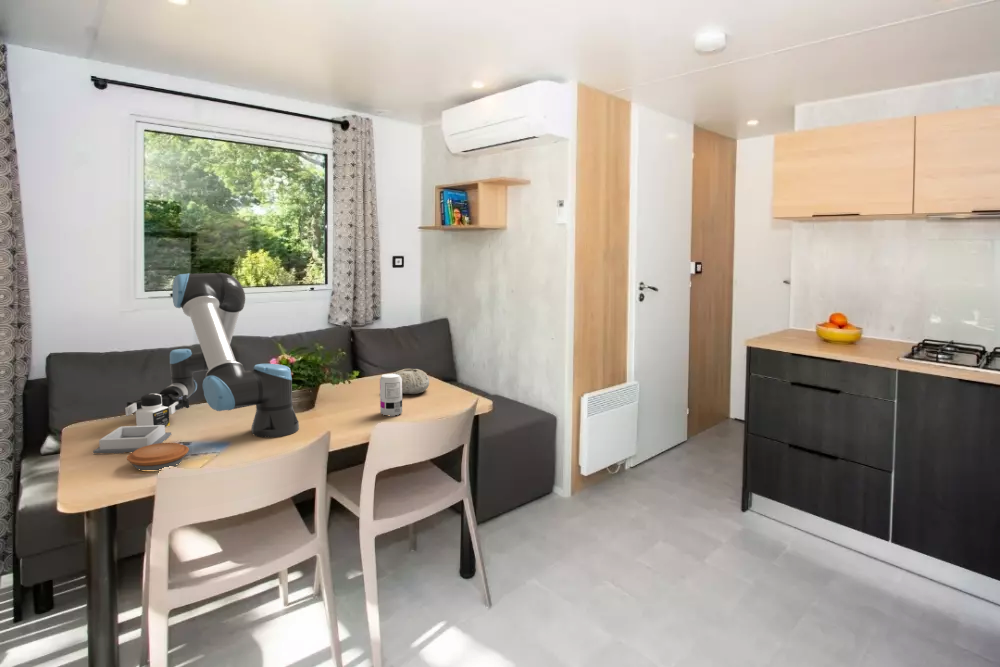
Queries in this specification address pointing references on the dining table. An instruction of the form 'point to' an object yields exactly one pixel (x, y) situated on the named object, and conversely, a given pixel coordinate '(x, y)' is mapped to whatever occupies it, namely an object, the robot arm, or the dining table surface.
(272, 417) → the robot arm
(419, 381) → the grey squat round piece
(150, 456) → the pie
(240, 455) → the dining table surface
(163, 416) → the medicine bottle
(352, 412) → the dining table surface
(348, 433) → the dining table surface
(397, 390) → the supplement can
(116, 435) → the dock
